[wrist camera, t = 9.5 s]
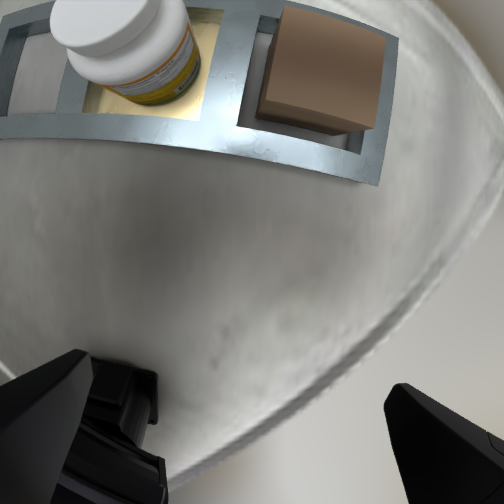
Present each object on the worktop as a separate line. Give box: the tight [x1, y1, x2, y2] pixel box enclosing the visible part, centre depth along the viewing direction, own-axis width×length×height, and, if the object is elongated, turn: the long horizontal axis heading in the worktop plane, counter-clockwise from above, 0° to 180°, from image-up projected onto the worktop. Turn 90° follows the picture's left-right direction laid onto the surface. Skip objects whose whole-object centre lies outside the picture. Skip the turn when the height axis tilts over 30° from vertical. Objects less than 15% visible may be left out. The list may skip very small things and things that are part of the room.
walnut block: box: [255, 5, 386, 136], centre depth 14 cm, size 5×5×6 cm
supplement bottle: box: [50, 0, 201, 106], centre depth 11 cm, size 5×5×10 cm
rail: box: [0, 0, 399, 186], centre depth 14 cm, size 10×28×2 cm, turn 79°
